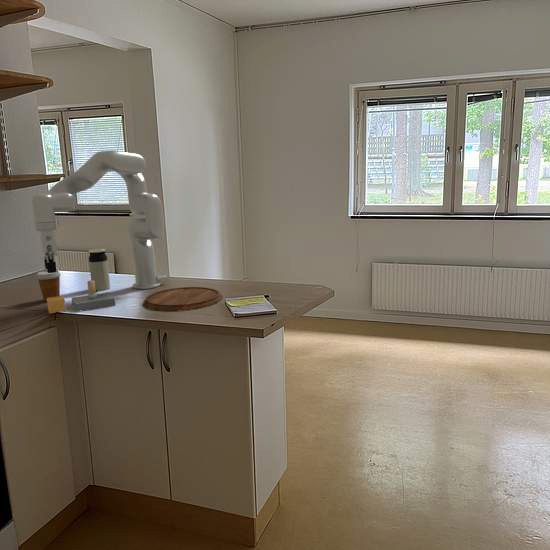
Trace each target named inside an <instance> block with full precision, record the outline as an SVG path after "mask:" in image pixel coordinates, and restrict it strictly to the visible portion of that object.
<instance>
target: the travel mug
mask: <svg viewBox="0 0 550 550" xmlns="http://www.w3.org/2000/svg"><path fill="white" fill-rule="evenodd" d="M88 253H89V256H88V264H89V273H90V281H91V280H94V281H95V288H96V290H101V291H106V289H107V290H108V289H110V288H111V284H110V282H111V281H110V272H109V263H108V256H107V255H106V249H105V248H94V249H90V250H88Z"/></svg>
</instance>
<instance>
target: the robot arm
mask: <svg viewBox="0 0 550 550" xmlns="http://www.w3.org/2000/svg"><path fill="white" fill-rule="evenodd" d="M146 167H147V162H146V159H145V158H144V157H143V156H142V155H140V154H138V153H134V152H132V153H131V152H127V151H126V152H125V151H119V150H102V151H98V152H95V153H94V154H92V156H91V157H90V158H89V159H88V160H86V162H84V163H83V165H82V166H80V167H79V168H78V169H77V170H76V171H75V172H73V173H71V174H69V175H67V176H66V177H64V178H63V179H61V180H59V181H58V182H57V183H56V184H54V185H53V186H52V187H51V188H50V189H49V190H48V191H47V192H45V193H38V194H37V193H35V194H33V195H32V197H31V205H32V206H31V207H32V212H33V220H34V230H35V232H38V236H39V242H40V247H41V251H42V253H41V254H42V255H43V257H44V259H43V261H44V268H45V270H46V271H47V272H48V273H55V272H57V271H58V269H57V263H56V260H55V257H58V255H59V254H58V246H57V240H56V235H55V231H57V222H56V221H57V220H56V213H57V212H58V213H60V212H61V213H63V212H64V213H66V212H71V211H72V210H74V209H75V207H76V205H77V199H76V197H75V196H74V195H76V194H78V193H80V192H84V191H87V190H89V189H91V188H93V187H94V186H95V185H96V184H97V183H99V181H100V180H101V179H102V178H103V177H104V176H105V175H106V174H107V173H109V172H112V173H113V172H115V173H116V174H118V175H119V176H121V178H122V180H124V182H125V185H126V192H127V201H128V207H129V210H130V212H131V213H132V214H133V215H137V216H144V217H135V218H133V219H131V220H130V222H129V223H128V226H127V229H128V235H129V238H130V243H131V249H132V258H133V259H132V260H133V268H134V270H133V271H134V281H135V283H133V284H132V288H133V289H138V290H146V289H147V290H148V289H153V288H158V287H159V286H160V285H161V281H166V280H168V276H167V275H157V268H156V257H155V248H154V247H155V246H154V244H153V241H152V240H154V241H156V240H159V239H161V238H162V237H163V236H164V233H165V219H164V209H163V203H162V200H161V198H160V197H159V196H158V195H157V194H154V193H151V192H149V193H148V188H147V183H146V179H145V176H144V174H142V173H144V171H145V170H146Z"/></svg>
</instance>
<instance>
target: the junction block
mask: <svg viewBox="0 0 550 550" xmlns="http://www.w3.org/2000/svg"><path fill="white" fill-rule="evenodd" d="M86 282H87V290H88V294H87V295H81V296H74V297H71V305H72V307H73V306H74V307H73V309H74V310H75V312H81V311H80V310H83V311H87V309H89V310H94V308H96V309H100V308H101V309H102V308H107V307H108V308H109V307H115V306H116V299H115V297H114V296H113V295H112V293H110V292H109V291H108V292H103V293H98V292H97V291H96V288H95V281H94V280H91V279H90V280H87V281H86Z"/></svg>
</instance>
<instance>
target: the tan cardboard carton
mask: <svg viewBox="0 0 550 550" xmlns="http://www.w3.org/2000/svg"><path fill="white" fill-rule="evenodd" d="M46 304H47V310H48V313H49V315H50V314H55V313H56V312H58V313H61V312H60V311H64V312H67V309H66V307H67V306H66V301H65V297H64V295H61V296H58V297H51V298H47V301H46ZM56 314H57V313H56Z"/></svg>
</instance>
